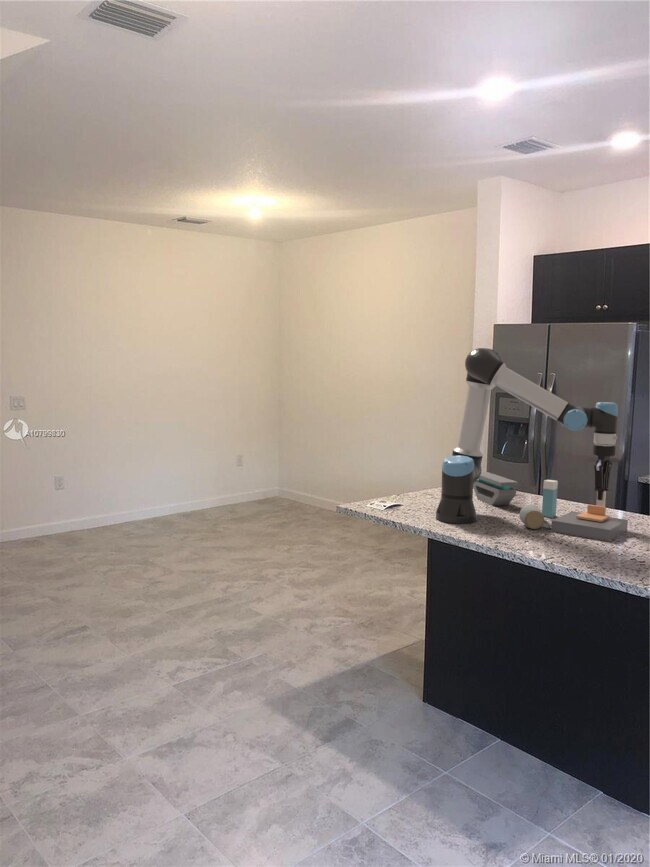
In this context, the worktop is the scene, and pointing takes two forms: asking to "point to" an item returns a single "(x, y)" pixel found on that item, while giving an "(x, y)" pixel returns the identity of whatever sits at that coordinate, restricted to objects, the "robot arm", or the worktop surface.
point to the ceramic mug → (533, 517)
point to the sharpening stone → (494, 489)
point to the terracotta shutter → (594, 513)
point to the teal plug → (549, 498)
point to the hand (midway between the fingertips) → (600, 508)
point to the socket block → (589, 526)
